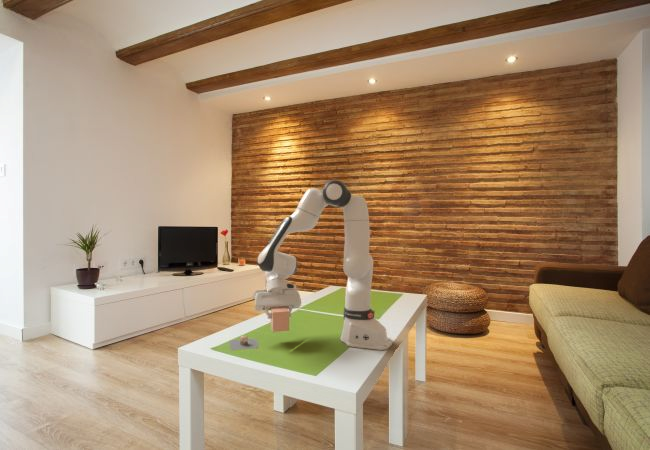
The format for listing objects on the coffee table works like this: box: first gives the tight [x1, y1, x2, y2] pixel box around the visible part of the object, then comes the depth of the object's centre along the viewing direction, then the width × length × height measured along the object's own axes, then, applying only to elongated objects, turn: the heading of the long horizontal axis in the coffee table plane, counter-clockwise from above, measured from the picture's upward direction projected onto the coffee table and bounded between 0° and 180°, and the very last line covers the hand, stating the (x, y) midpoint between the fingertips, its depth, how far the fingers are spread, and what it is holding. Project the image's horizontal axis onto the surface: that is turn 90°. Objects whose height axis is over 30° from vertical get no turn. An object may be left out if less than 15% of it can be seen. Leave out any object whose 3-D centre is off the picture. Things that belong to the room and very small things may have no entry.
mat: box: [229, 338, 260, 351], centre depth 144 cm, size 11×11×1 cm
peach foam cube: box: [270, 307, 290, 333], centre depth 148 cm, size 7×7×8 cm
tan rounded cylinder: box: [239, 335, 249, 345], centre depth 144 cm, size 3×3×3 cm
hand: (279, 317), depth 149 cm, fingers closed on peach foam cube, 7 cm apart
